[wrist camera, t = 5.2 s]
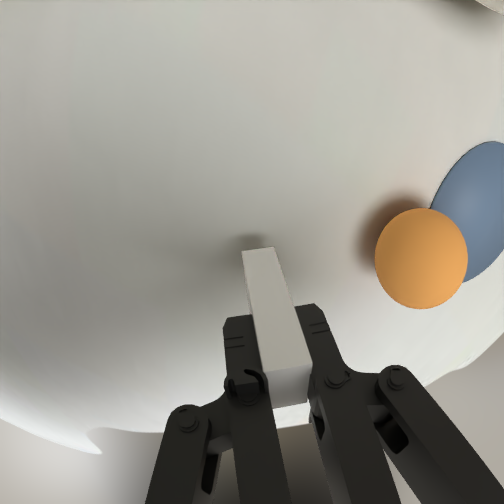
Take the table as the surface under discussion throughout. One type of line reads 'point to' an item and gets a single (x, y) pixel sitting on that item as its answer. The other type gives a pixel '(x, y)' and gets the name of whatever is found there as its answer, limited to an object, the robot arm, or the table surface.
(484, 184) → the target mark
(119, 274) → the table surface
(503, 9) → the lidded jar
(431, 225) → the ball
